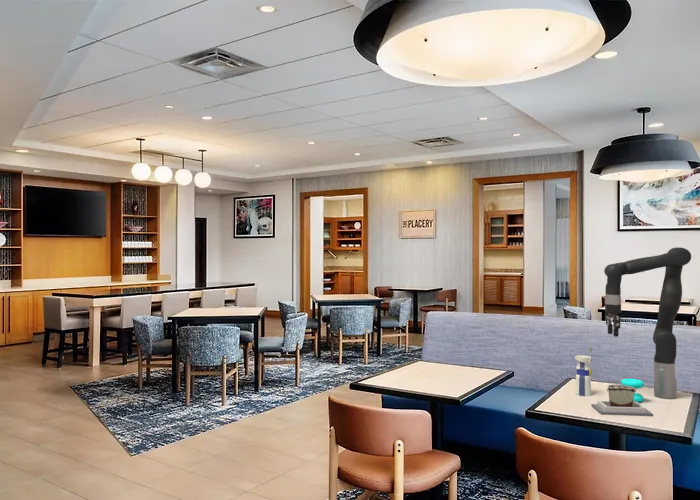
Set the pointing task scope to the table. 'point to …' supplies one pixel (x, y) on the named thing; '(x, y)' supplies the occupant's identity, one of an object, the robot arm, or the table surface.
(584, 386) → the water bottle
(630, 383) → the donuts
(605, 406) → the tray
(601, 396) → the table surface
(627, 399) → the food container
